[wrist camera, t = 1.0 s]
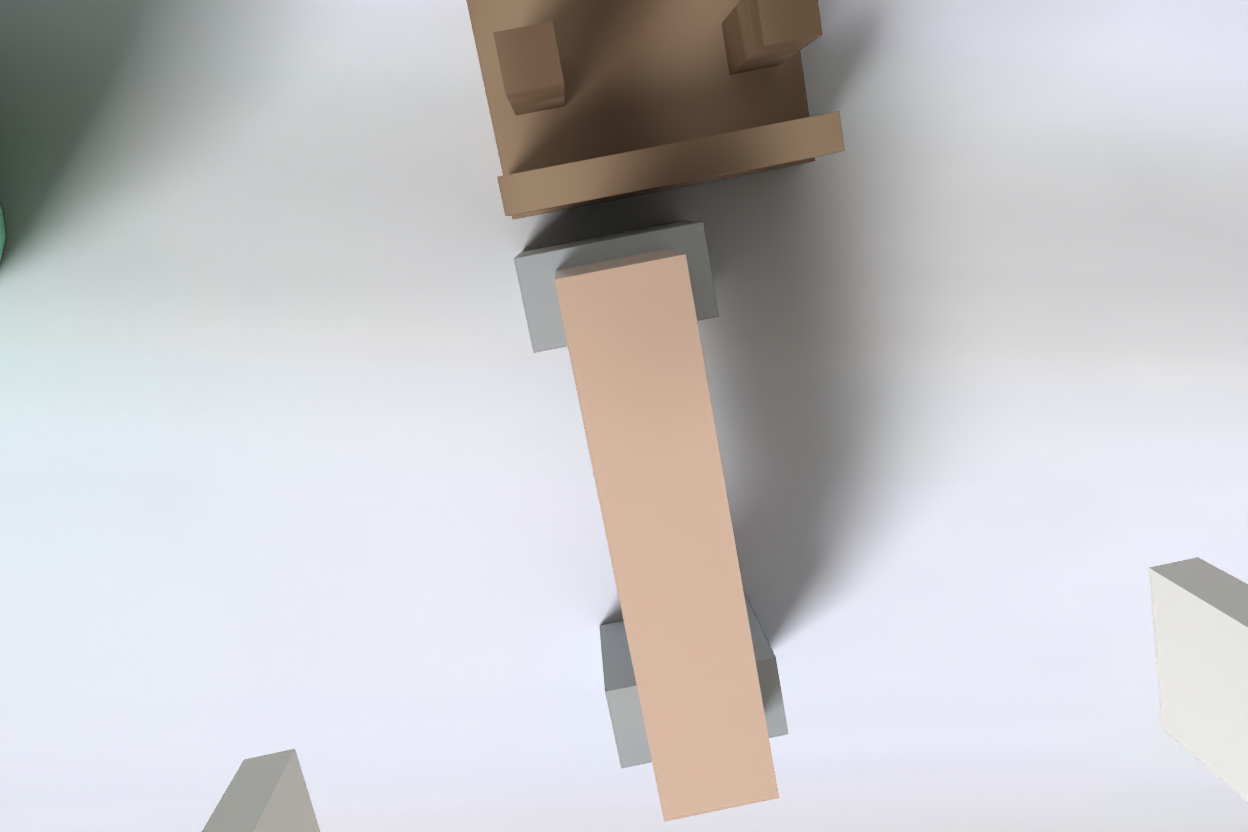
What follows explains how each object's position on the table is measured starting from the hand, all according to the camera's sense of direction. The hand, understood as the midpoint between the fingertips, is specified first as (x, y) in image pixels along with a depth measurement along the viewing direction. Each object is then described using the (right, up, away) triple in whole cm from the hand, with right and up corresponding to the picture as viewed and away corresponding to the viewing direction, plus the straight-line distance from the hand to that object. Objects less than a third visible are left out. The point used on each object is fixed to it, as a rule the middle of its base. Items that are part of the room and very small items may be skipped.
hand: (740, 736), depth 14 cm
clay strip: (-1, +2, +12) cm, 12 cm away
